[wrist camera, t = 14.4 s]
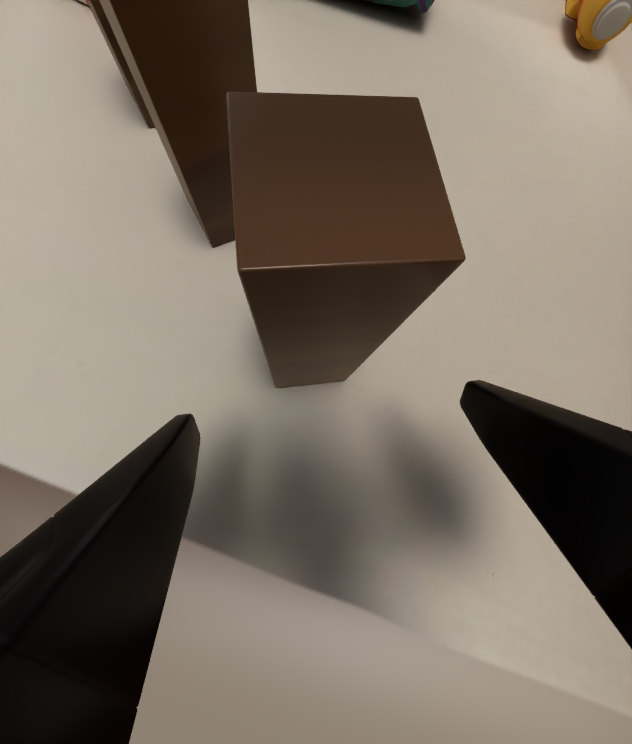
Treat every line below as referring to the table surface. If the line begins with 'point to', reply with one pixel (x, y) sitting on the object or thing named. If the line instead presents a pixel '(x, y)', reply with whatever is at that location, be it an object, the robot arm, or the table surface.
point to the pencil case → (407, 3)
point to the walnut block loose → (335, 225)
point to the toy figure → (599, 20)
